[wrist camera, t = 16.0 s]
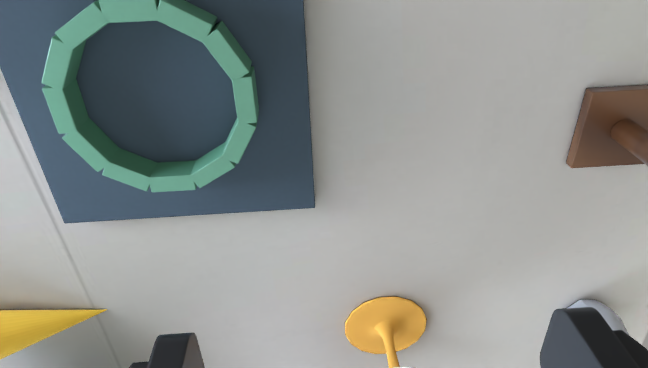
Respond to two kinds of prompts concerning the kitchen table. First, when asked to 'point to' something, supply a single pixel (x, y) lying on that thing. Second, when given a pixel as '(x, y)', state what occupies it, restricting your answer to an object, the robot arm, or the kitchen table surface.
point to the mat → (168, 107)
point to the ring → (95, 146)
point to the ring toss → (611, 128)
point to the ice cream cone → (35, 326)
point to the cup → (386, 326)
